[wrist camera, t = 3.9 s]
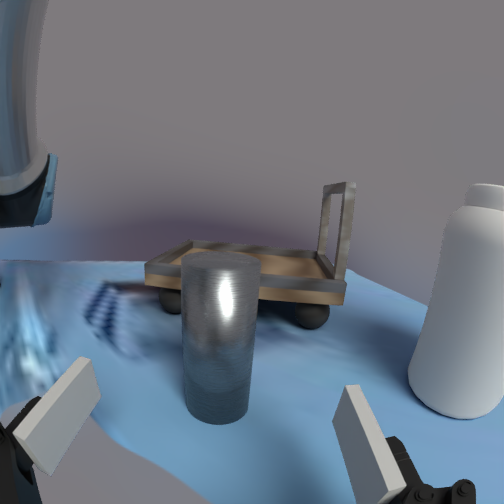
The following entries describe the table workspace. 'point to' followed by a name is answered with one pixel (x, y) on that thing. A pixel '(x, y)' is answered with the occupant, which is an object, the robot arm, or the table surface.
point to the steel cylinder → (218, 332)
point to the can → (465, 313)
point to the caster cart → (276, 267)
